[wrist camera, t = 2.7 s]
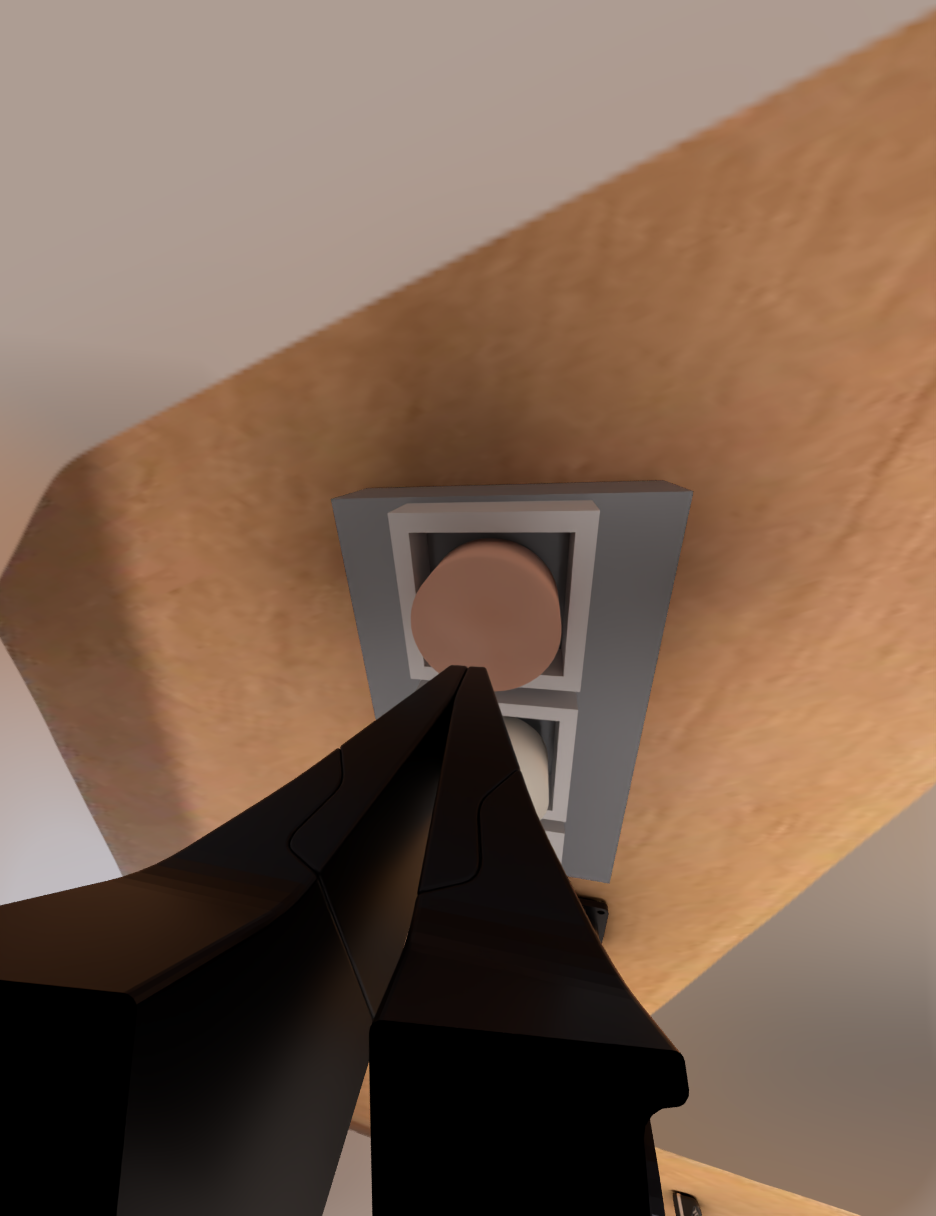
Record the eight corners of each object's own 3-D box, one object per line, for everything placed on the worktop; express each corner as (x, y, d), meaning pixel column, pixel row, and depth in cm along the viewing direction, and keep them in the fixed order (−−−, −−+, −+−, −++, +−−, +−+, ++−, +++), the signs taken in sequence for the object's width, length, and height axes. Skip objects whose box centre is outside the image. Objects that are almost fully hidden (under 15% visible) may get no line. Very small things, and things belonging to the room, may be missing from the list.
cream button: (545, 794, 16) (545, 840, 14) (448, 781, 16) (436, 823, 15) (550, 717, 14) (551, 759, 12) (440, 707, 15) (426, 744, 13)
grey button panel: (601, 829, 22) (615, 923, 18) (417, 802, 24) (390, 880, 20) (663, 480, 13) (719, 501, 9) (366, 488, 16) (301, 508, 11)
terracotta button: (554, 660, 13) (556, 697, 11) (435, 653, 13) (418, 685, 12) (563, 538, 11) (566, 558, 9) (423, 538, 12) (401, 556, 10)
